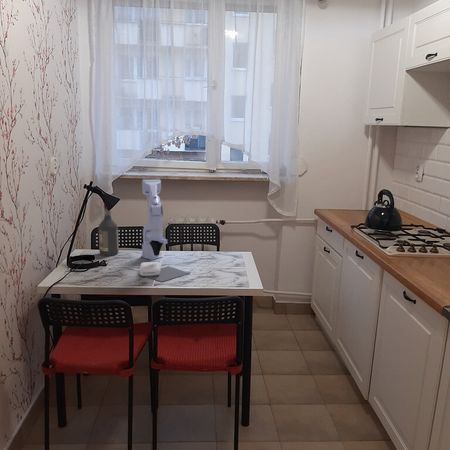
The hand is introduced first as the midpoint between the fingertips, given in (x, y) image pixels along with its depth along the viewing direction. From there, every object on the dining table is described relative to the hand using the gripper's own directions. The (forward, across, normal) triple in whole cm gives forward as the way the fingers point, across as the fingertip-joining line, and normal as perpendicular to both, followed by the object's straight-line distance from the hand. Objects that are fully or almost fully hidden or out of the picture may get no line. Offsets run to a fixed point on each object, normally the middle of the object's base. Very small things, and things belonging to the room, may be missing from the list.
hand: (156, 255), depth 222 cm
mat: (+8, +6, 0) cm, 11 cm away
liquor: (+9, -44, +1) cm, 45 cm away
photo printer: (+6, -4, -1) cm, 7 cm away
